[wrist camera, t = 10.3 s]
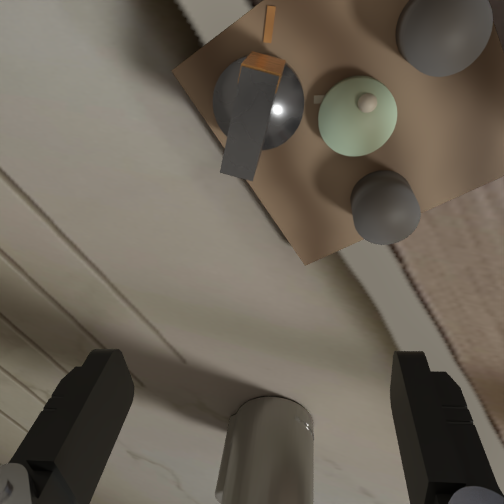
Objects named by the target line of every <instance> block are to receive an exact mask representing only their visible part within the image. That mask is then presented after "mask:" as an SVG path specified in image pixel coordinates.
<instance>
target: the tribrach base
mask: <svg viewBox="0 0 504 504" xmlns="http://www.w3.org/2000/svg"><path fill="white" fill-rule="evenodd" d="M252 51H254V52H258V53H265V54H270V55H273V56H276V57H278V58H280V59H283V60H286V63H287V64H288V65H289V66H291V67H292V69H293V70H294V71H295V72H296V74H297V76H298V77H299V79H300V82H301V84H302V87H303V91H304V112H303V116H302V120H301V122H300V125H299V127H298V128H297V130H296V131H295V133H294V134H293V135H292V136H291V138H290V139H288V140H287V141H286V142H285V143H283V144H282V145H280V146H278V147H276V148H272V149H269V150H262V153H261V156H260V159H259V163H258V166H257V169H256V172H255V176H254V179H253V181H249V180H247V182H248V183H249V185H250V186H251V188H252V189H253V190H254V192H255V193H256V195H257V196H258V198H259V199H260V201H261V202H262V204H263V205H264V206H265V208H266V209H267V211H268V212H269V214H270V215H271V217H272V218H273V220H274V221H275V222H276V224H277V225H278V227H279V228H280V230H281V231H282V233H283V234H284V236H285V237H286V238H287V240H288V241H289V243H290V244H291V246H292V247H293V249H294V250H295V252H296V253H297V255H298V256H299V257H300V259H301V260H302V262H303V263H304V265H305V266H306V265H308V264H310V263H312V262H314V261H317V260H319V259H321V258H323V257H325V256H328V255H330V254H332V253H334V252H337V251H339V250H341V249H343V248H345V247H348V246H350V245H352V244H354V243H356V242H359V241H361V240H363V239H365V240H367V241H369V242H371V243H374V244H380V245H387V244H393V243H397V242H399V241H401V240H403V239H405V238H407V237H408V236H409V235H410V234H411V233H412V232H413V231H414V230H415V229H416V227H417V225H418V223H419V220H420V215H421V213H423V212H425V211H427V210H430V209H432V208H434V207H436V206H438V205H441V204H443V203H445V202H447V201H449V200H452V199H454V198H456V197H458V196H461V195H463V194H465V193H467V192H469V191H472V190H474V189H476V188H478V187H480V186H483V185H485V184H487V183H489V182H492V181H494V180H496V179H498V178H500V177H503V176H504V52H503V49H502V46H501V43H500V40H499V37H498V34H497V31H496V28H495V25H494V22H493V14H492V9H491V6H490V3H489V1H488V0H263V1H262V2H260V3H259V4H258V5H256V6H255V7H254V8H253V9H251V10H250V11H249V12H247V13H246V14H245V15H243V16H242V17H241V18H240V19H239V20H237V21H236V22H234V23H233V24H232V25H230V26H229V27H228V28H227V29H225V30H224V31H223V32H221V33H220V34H219V35H218V36H216V37H215V38H213V39H212V40H211V41H210V42H208V43H207V44H206V45H204V46H203V47H202V48H200V49H199V50H198V51H196V52H195V53H194V54H193V55H191V56H190V57H189V58H187V59H186V60H185V61H183V62H182V63H181V64H180V65H178V66H177V67H176V68H174V69H173V70H172V73H173V74H174V75H175V77H176V78H177V80H178V81H179V83H180V84H181V86H182V87H183V89H184V90H185V91H186V93H187V94H188V96H189V97H190V99H191V100H192V102H193V103H194V105H195V106H196V107H197V109H198V110H199V112H200V113H201V115H202V116H203V118H204V119H205V121H206V122H207V123H208V125H209V126H210V128H211V129H212V131H213V132H214V134H215V135H216V137H217V138H218V140H219V141H220V142H221V144H222V145H223V147H224V148H225V145H226V140H227V136H226V135H225V134H224V133H223V132H222V130H221V129H220V127H219V126H218V124H217V121H216V119H215V116H214V112H213V92H214V88H215V85H216V83H217V81H218V79H219V77H220V75H221V74H222V73H223V71H224V70H225V69H226V68H227V67H228V66H229V65H230V64H231V63H233V62H234V61H235V60H237V59H239V58H240V57H243V56H245V55H249V54H250V53H251V52H252Z"/></svg>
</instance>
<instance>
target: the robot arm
mask: <svg viewBox="0 0 504 504" xmlns="http://www.w3.org/2000/svg"><path fill="white" fill-rule="evenodd" d="M133 397H134V385H133V381H132V378H131V376H130V373H129V370H128V368H127V365H126V362H125V360H124V357H123V354H122V352H121V351H120V350H119V349H94V350H92V351H91V352H90V354H89V355H88V357H87V359H86V360H85V362H84V364H83V365H82V367H75V368H74V369H73V370H72V371H71V372H69V373H68V374H67V375H66V376H65V377H64V378H63V379H62V380H61V381H60V383H59V384H58V386H57V387H56V389H55V391H54V392H53V394H52V397H51V398H50V399H49V400H48V402H47V403H46V405H45V406H44V410H43V411H41V413H40V414H39V416H38V418H37V419H36V421H35V422H34V424H33V425H32V427H31V429H30V430H29V432H28V433H27V435H26V437H25V438H24V440H23V441H22V443H21V445H20V446H19V448H18V449H17V451H16V452H15V454H14V456H13V457H12V459H11V460H10V461H9V463H8V464H4V465H1V466H0V504H89V503H90V501H91V499H92V496H93V494H94V491H95V489H96V487H97V484H98V482H99V480H100V477H101V475H102V473H103V470H104V468H105V466H106V463H107V461H108V458H109V456H110V454H111V451H112V449H113V447H114V444H115V442H116V440H117V437H118V435H119V433H120V430H121V428H122V426H123V423H124V421H125V418H126V416H127V414H128V411H129V409H130V407H131V404H132V401H133ZM390 400H391V409H392V415H393V420H394V425H395V430H396V435H397V440H398V445H399V450H400V455H401V460H402V465H403V470H404V475H405V479H406V484H407V489H408V494H409V499H410V504H504V495H503V494H502V492H501V490H500V489H499V487H498V485H497V482H496V480H495V477H494V474H493V472H492V469H491V467H490V464H489V461H488V459H487V456H486V454H485V451H484V448H483V446H482V443H481V440H480V438H479V435H478V433H477V430H476V427H475V425H473V420H472V417H471V414H470V412H469V410H468V409H467V404H466V402H465V399H464V396H463V394H462V391H461V388H460V387H459V386H458V385H457V384H456V382H455V381H454V380H453V379H452V378H451V377H450V376H449V375H448V374H447V373H446V372H430V368H429V366H428V362H427V359H426V356H425V354H424V352H423V351H418V352H417V351H411V352H410V351H395V352H394V355H393V365H392V375H391V385H390ZM313 441H314V433H313V420H312V417H311V415H310V414H309V412H308V411H307V410H306V409H305V408H304V407H302V406H300V405H299V404H297V403H295V402H293V401H291V400H287V399H284V398H278V397H261V398H256V399H253V400H250V401H248V402H246V403H245V404H243V405H242V406H241V407H240V409H239V411H238V412H237V414H235V415H233V416H230V419H229V424H228V429H227V434H226V440H225V445H224V450H223V455H222V460H221V465H220V470H219V476H218V481H217V486H216V491H215V497H216V499H217V501H219V502H220V503H221V504H313Z"/></svg>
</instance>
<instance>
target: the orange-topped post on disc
mask: <svg viewBox="0 0 504 504" xmlns="http://www.w3.org/2000/svg"><path fill="white" fill-rule="evenodd" d="M213 112H214V116H215V119H216V121H217V124H218V126H219V127H220V129H221V130H222V132H223V133H224V134H225V135H226V136H227V140H226V145H225V150H224V155H223V160H222V165H221V170H220V173H223V174H227V175H231V176H234V177H238V178H242V179H245V180H249V181H253V179H254V176H255V172H256V169H257V166H258V163H259V159H260V156H261V153H262V150H269V149H272V148H276V147H278V146H280V145H282V144H283V143H285V142H286V141H287V140H288V139H290V138H291V136H292V135H293V134H294V133H295V131H296V130H297V128H298V127H299V125H300V122H301V120H302V116H303V112H304V91H303V87H302V84H301V82H300V79H299V77H298V76H297V74H296V72H295V71H294V70H293V69H292V67H291V66H289V65H288V64H287V63H286V60H283V59H280V58H278V57H276V56H273V55H270V54H265V53H258V52H254V51H252V52H251V53H250V54H249V55H245V56H243V57H240V58H239V59H237V60H235V61H234V62H233V63H231V64H230V65H229V66H228V67H227V68H226V69H225V70H224V71H223V73H222V74H221V75H220V77H219V79H218V81H217V83H216V85H215V88H214V92H213Z"/></svg>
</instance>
